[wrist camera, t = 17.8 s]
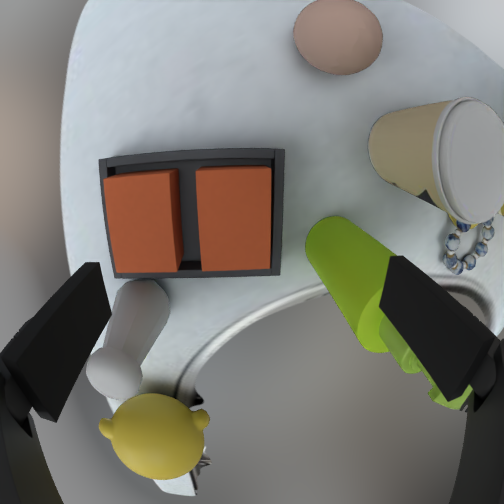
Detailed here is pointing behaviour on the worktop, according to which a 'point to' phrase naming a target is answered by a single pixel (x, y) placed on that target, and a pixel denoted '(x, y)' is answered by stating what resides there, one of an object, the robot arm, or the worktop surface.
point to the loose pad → (234, 217)
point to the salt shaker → (128, 338)
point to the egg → (338, 36)
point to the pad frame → (188, 201)
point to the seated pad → (145, 220)
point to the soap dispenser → (363, 291)
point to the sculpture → (156, 435)
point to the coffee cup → (444, 156)
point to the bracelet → (454, 242)
